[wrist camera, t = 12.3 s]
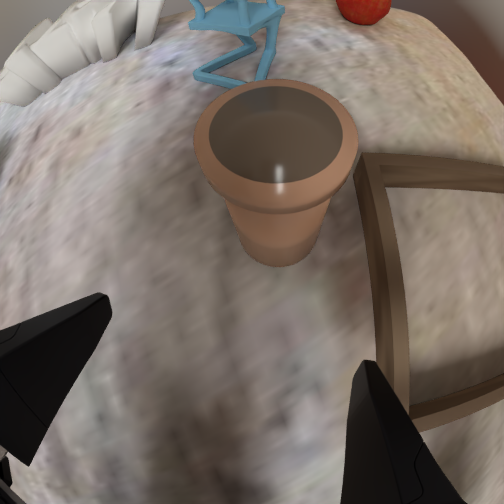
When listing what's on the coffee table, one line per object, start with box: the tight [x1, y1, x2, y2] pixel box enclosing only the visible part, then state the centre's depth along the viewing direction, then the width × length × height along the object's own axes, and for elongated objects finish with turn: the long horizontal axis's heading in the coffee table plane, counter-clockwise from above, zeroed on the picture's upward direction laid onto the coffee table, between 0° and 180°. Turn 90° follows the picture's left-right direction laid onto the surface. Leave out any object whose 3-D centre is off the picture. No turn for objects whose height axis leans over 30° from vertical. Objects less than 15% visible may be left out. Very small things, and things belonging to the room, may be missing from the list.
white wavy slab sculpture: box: [0, 0, 165, 107], centre depth 26 cm, size 35×16×10 cm, turn 97°
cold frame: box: [353, 153, 504, 432], centre depth 15 cm, size 18×18×3 cm
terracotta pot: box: [194, 79, 358, 267], centre depth 15 cm, size 6×6×10 cm
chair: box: [188, 0, 285, 89], centre depth 20 cm, size 8×8×12 cm
